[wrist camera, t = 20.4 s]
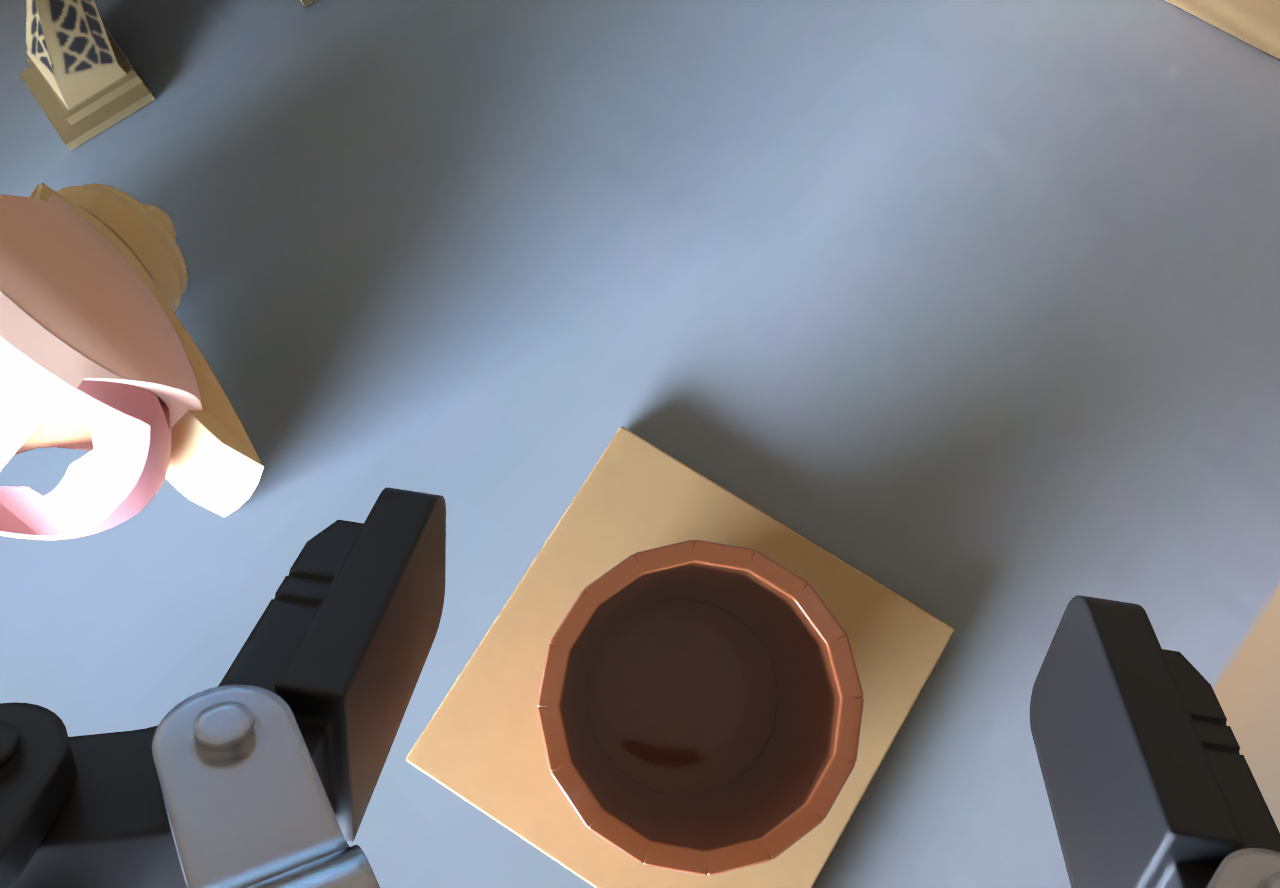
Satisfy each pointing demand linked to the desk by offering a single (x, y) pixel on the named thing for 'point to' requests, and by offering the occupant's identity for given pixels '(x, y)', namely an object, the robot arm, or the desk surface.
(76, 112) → the eiffel tower
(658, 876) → the coaster
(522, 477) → the desk surface
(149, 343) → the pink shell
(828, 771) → the brown cylindrical cup
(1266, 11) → the pod rack
